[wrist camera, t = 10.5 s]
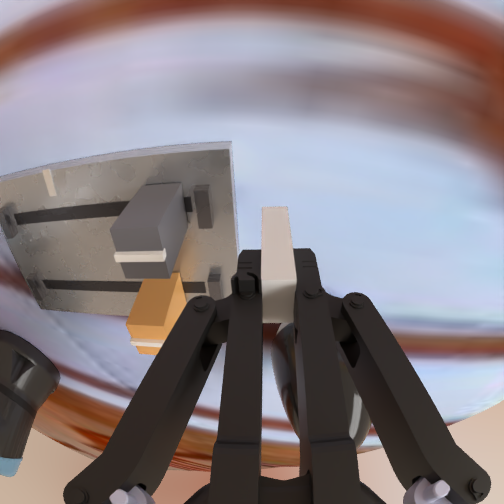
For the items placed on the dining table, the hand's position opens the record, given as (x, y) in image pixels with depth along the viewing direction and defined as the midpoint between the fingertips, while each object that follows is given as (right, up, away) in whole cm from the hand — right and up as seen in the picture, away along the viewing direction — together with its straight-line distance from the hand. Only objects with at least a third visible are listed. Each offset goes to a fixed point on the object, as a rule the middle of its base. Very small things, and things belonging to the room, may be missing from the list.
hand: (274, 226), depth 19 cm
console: (-14, 0, +8) cm, 16 cm away
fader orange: (-9, -5, +8) cm, 13 cm away
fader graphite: (-8, +2, +3) cm, 9 cm away
